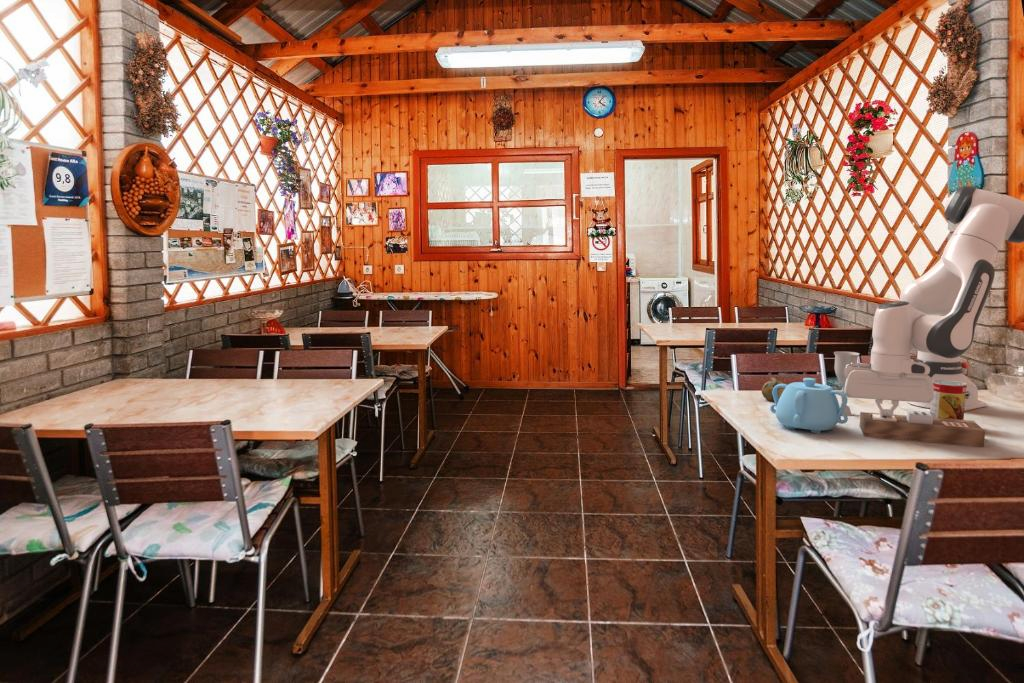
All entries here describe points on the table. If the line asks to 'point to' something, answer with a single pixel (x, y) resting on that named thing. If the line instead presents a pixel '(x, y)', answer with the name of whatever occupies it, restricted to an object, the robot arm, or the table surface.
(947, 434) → the button board
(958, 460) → the table surface
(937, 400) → the canned food
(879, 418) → the tile one
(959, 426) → the tile three
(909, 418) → the tile two
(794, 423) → the decorative pot
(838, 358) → the chalice
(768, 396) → the onion
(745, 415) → the table surface
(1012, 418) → the table surface
